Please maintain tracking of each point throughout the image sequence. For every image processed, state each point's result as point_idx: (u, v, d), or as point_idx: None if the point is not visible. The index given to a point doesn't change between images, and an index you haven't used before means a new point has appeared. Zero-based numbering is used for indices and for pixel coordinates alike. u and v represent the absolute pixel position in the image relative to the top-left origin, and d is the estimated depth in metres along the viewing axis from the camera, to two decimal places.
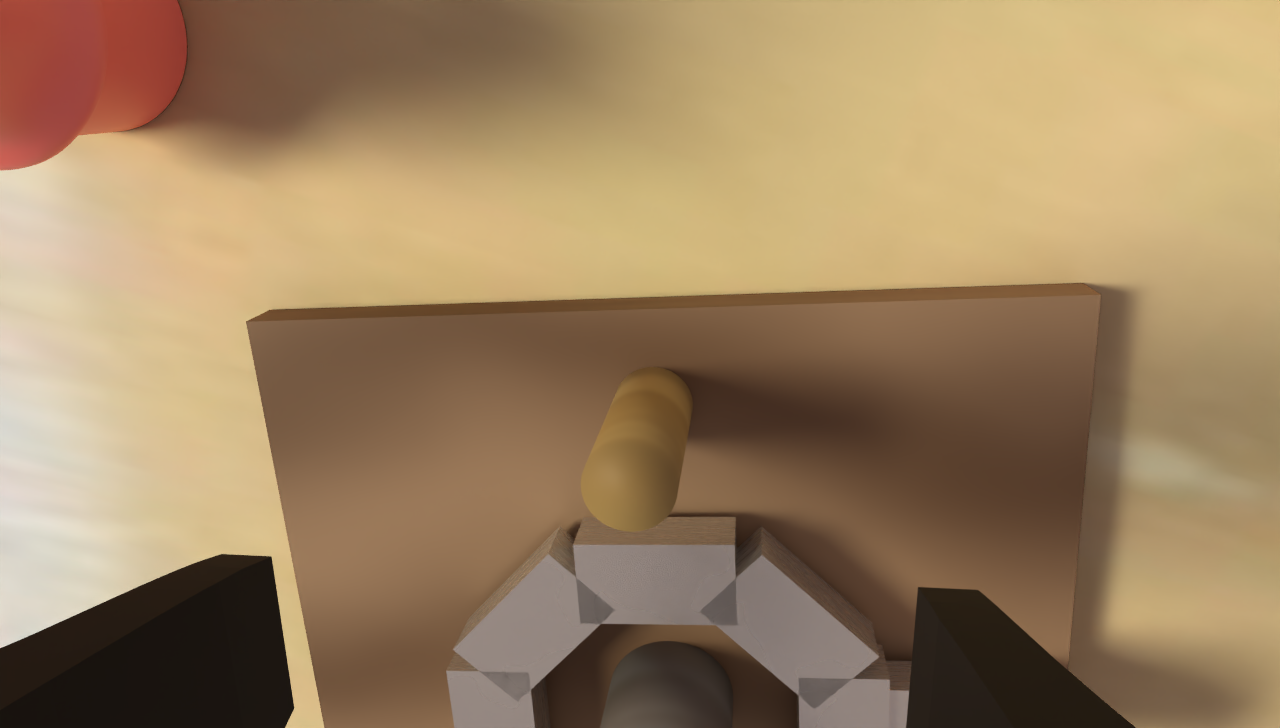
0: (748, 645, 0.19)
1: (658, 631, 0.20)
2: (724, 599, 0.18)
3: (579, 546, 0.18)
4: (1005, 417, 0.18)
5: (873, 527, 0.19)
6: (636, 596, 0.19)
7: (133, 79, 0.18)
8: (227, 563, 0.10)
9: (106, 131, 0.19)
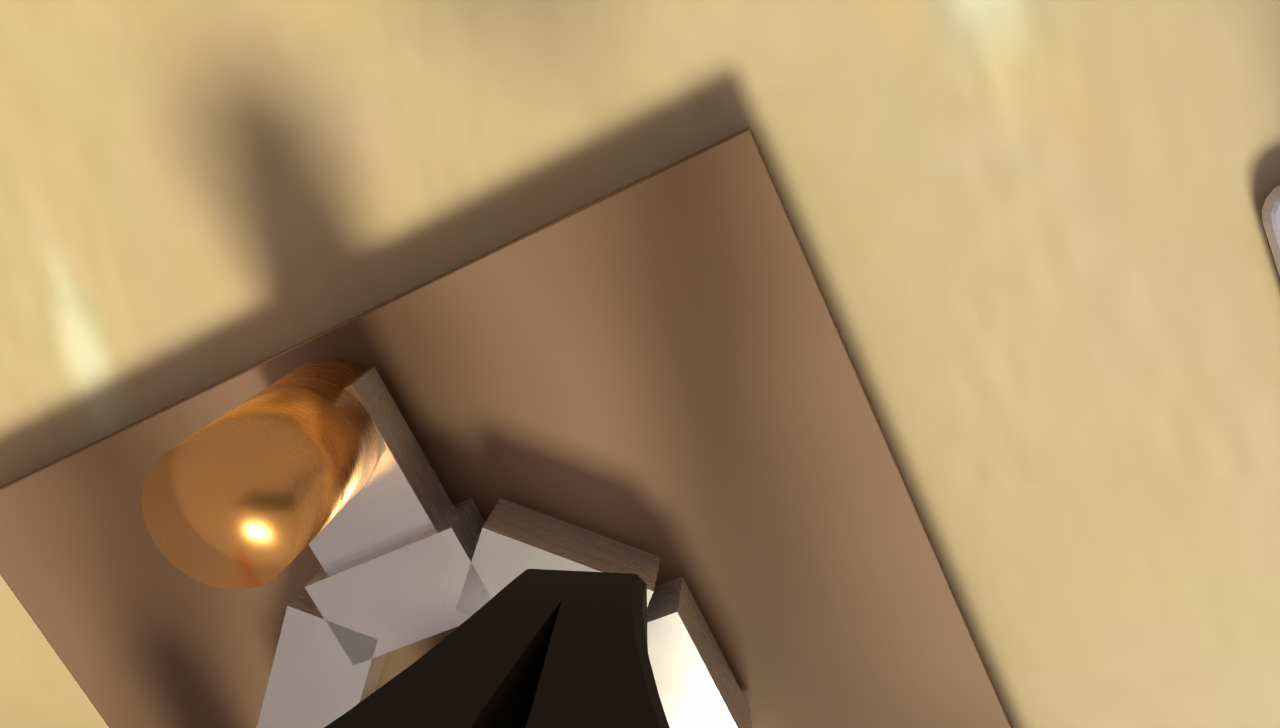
0: None
1: None
2: None
3: None
4: (85, 536, 0.19)
5: (240, 596, 0.19)
6: None
7: None
8: (547, 578, 0.10)
9: None
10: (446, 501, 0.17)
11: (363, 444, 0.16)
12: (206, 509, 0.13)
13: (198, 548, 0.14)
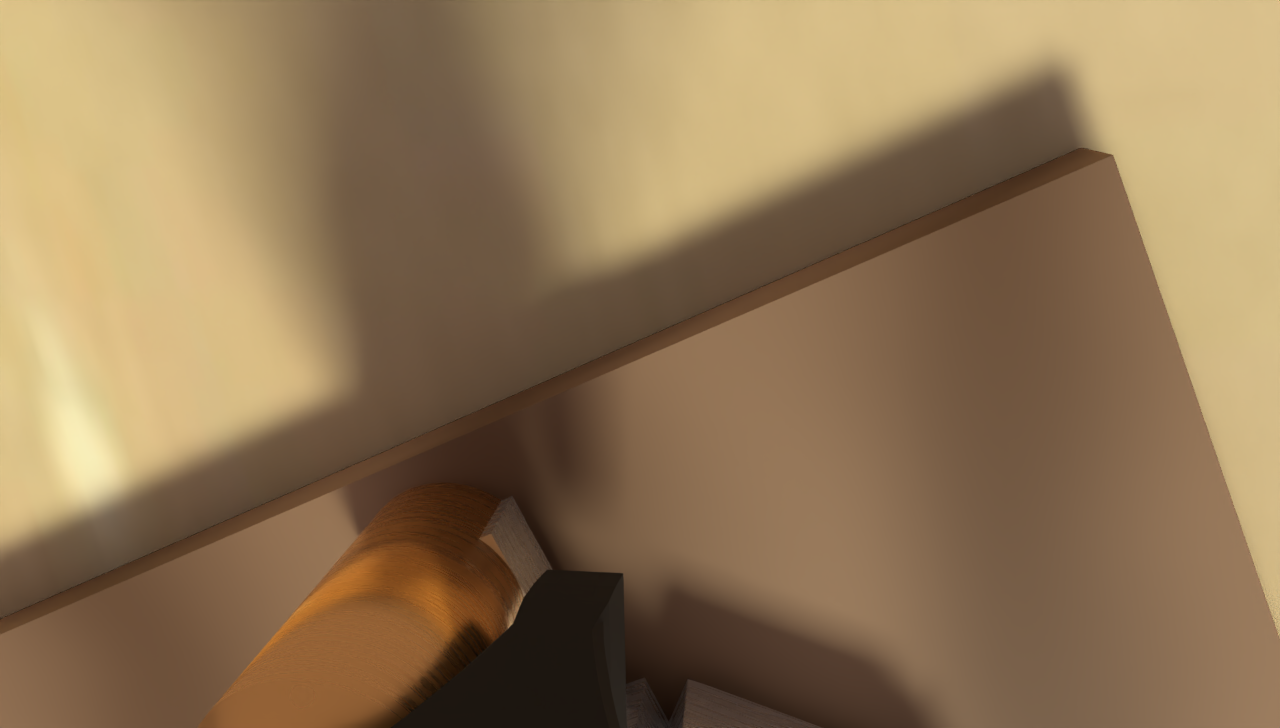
0: None
1: None
2: None
3: None
4: (88, 709, 0.14)
5: None
6: None
7: None
8: (591, 580, 0.09)
9: None
10: None
11: None
12: None
13: None
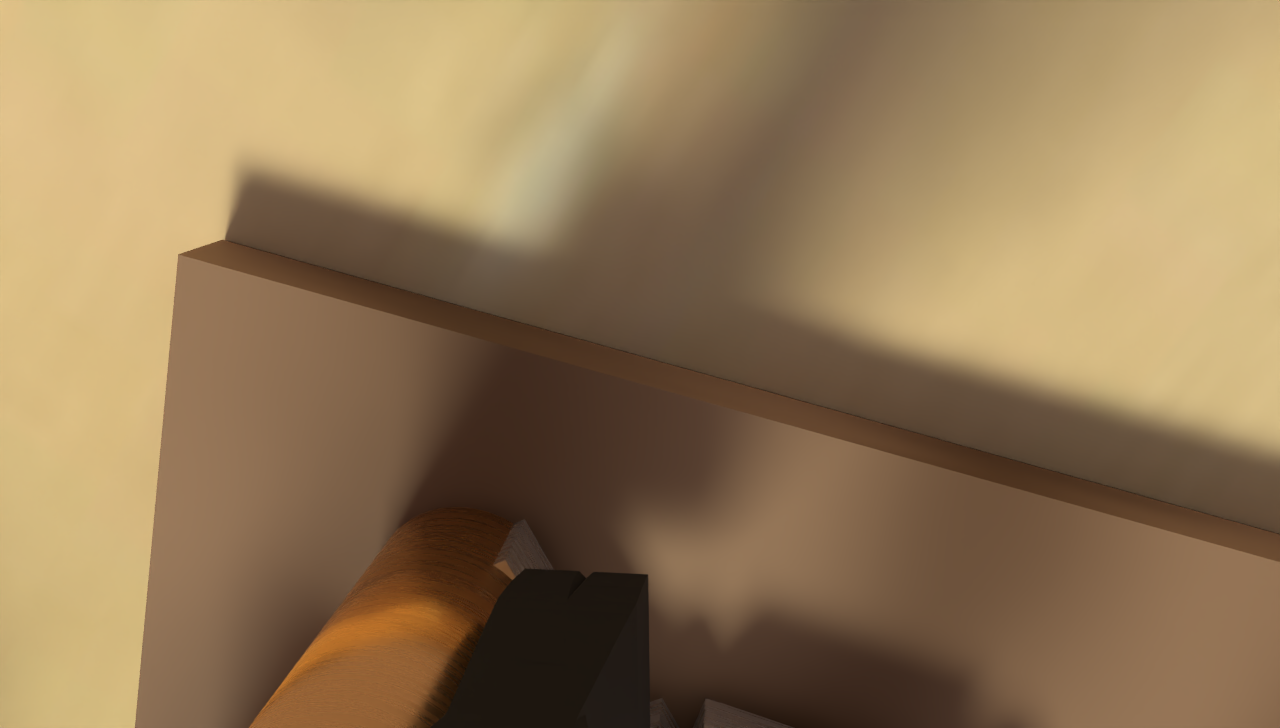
0: None
1: None
2: None
3: None
4: (350, 426, 0.12)
5: None
6: None
7: None
8: (616, 581, 0.09)
9: None
10: None
11: None
12: None
13: None
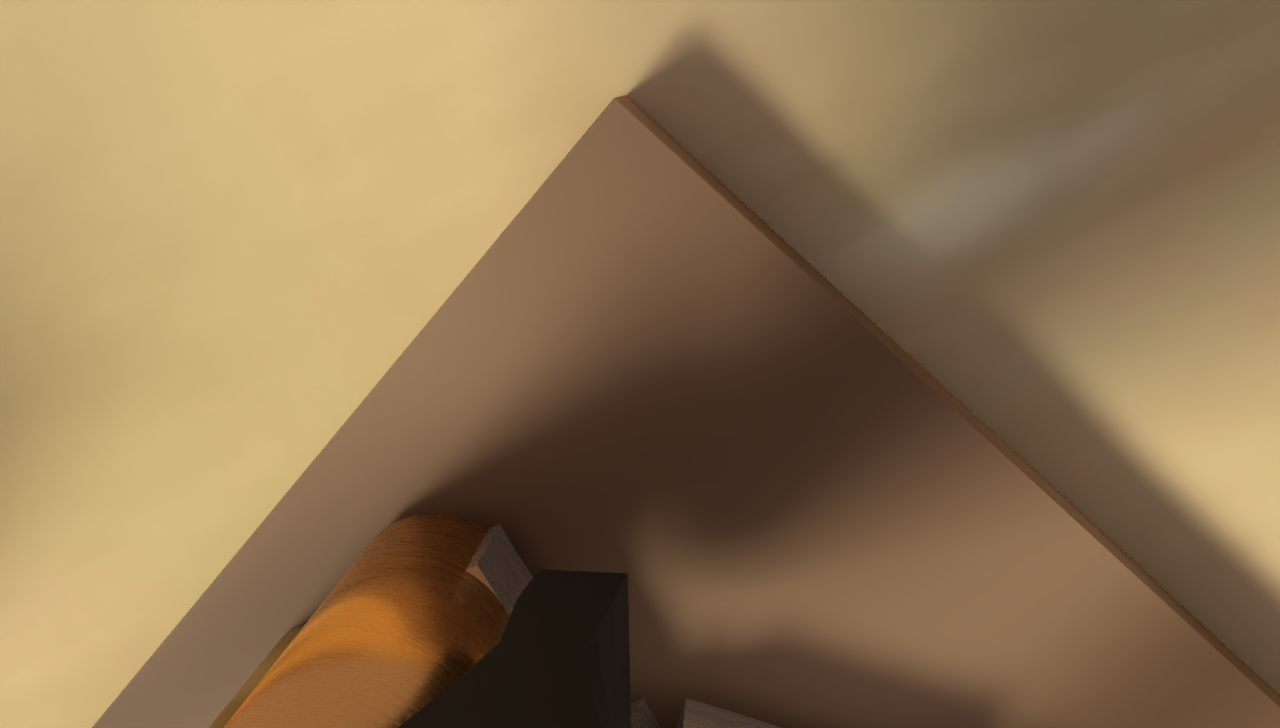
0: None
1: None
2: None
3: None
4: (680, 345, 0.11)
5: (689, 602, 0.12)
6: None
7: None
8: (595, 581, 0.09)
9: None
10: None
11: None
12: None
13: None
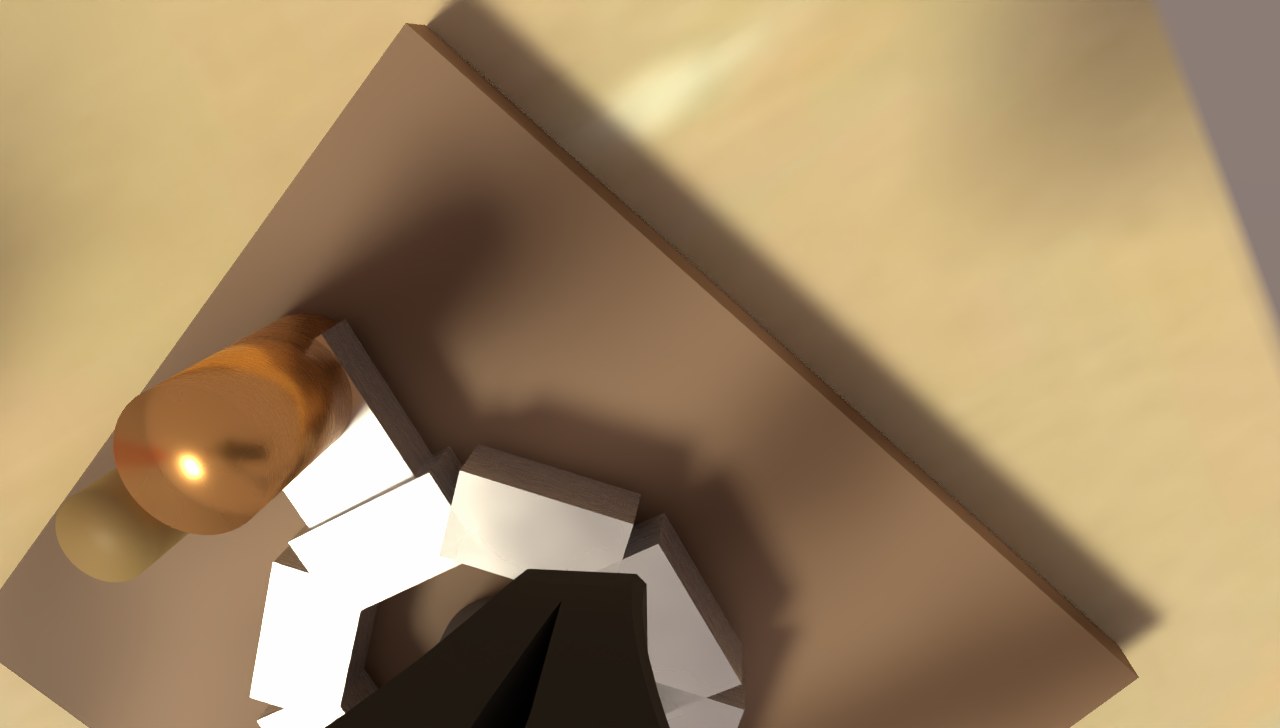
0: (340, 673, 0.18)
1: (441, 612, 0.19)
2: (310, 709, 0.18)
3: None
4: (460, 191, 0.16)
5: (480, 377, 0.17)
6: None
7: None
8: (547, 578, 0.10)
9: None
10: (424, 451, 0.17)
11: (335, 392, 0.16)
12: (177, 454, 0.14)
13: (172, 495, 0.14)
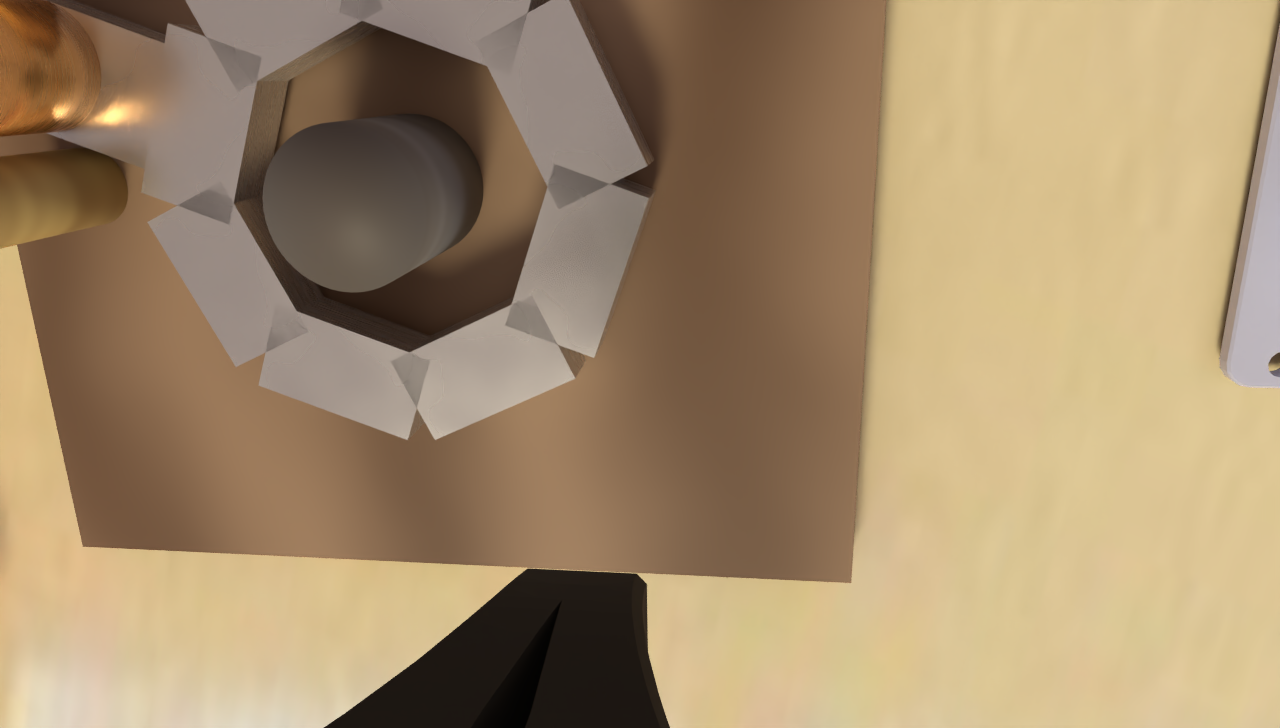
0: (270, 278, 0.18)
1: None
2: (281, 335, 0.18)
3: (403, 435, 0.19)
4: None
5: None
6: (365, 368, 0.18)
7: None
8: (547, 578, 0.10)
9: None
10: None
11: (43, 9, 0.16)
12: None
13: None
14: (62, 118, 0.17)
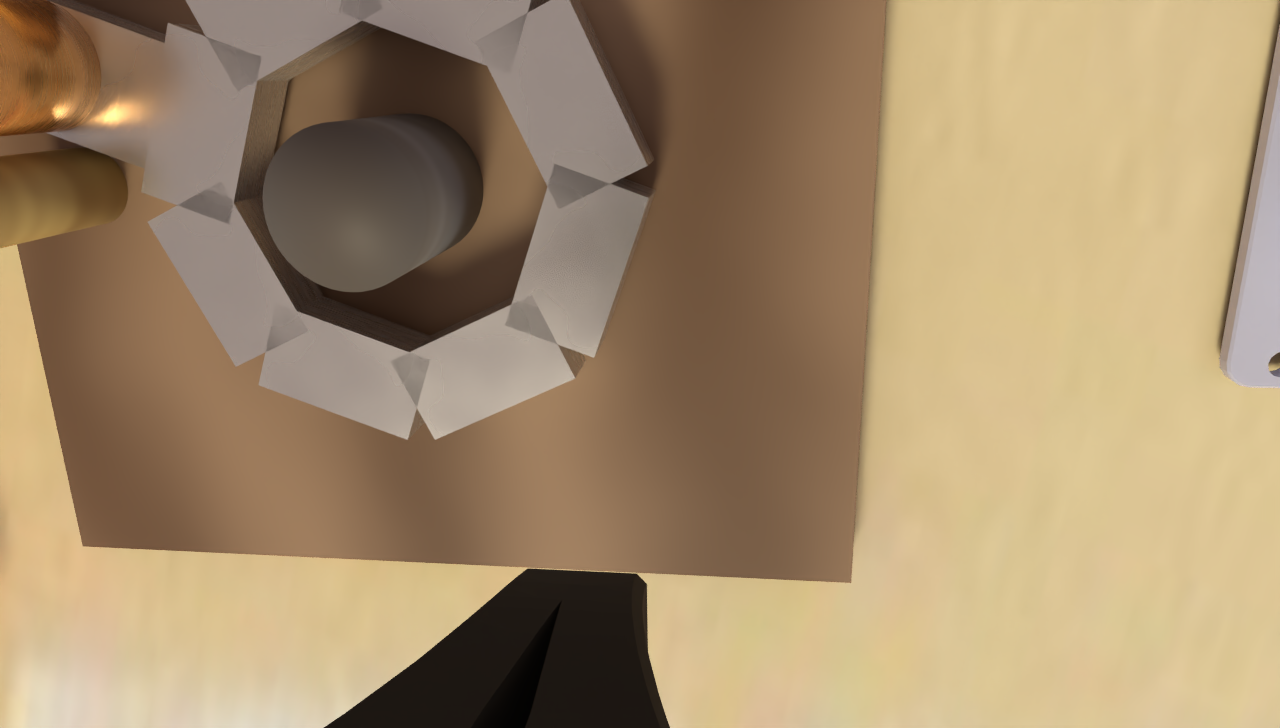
0: (270, 278, 0.18)
1: None
2: (281, 335, 0.18)
3: (403, 435, 0.19)
4: None
5: None
6: (365, 368, 0.18)
7: None
8: (547, 578, 0.10)
9: None
10: None
11: (43, 8, 0.16)
12: None
13: None
14: (62, 118, 0.17)
